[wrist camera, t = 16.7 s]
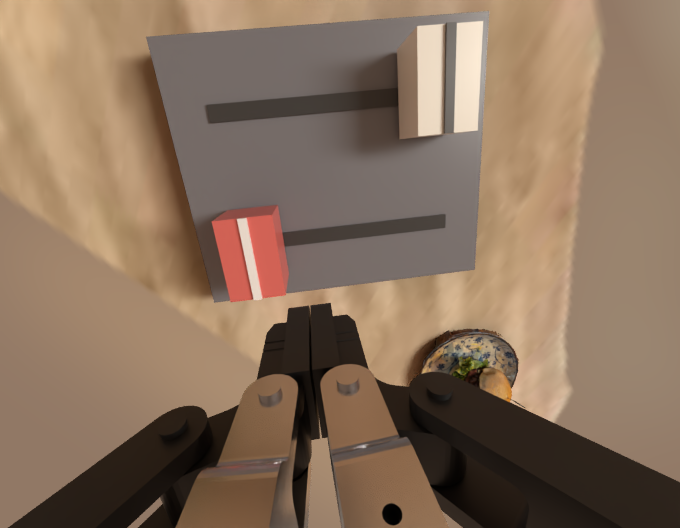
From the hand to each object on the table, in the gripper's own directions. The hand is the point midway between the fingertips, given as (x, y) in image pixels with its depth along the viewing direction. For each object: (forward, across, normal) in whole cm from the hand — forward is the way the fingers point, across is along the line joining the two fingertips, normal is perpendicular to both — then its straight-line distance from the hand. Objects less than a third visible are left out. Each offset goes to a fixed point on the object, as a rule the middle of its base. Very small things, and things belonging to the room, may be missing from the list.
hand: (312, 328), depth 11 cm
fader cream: (+16, -10, -9) cm, 21 cm away
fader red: (+16, +4, +1) cm, 16 cm away
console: (+19, -3, -4) cm, 20 cm away
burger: (+20, -16, +20) cm, 32 cm away
